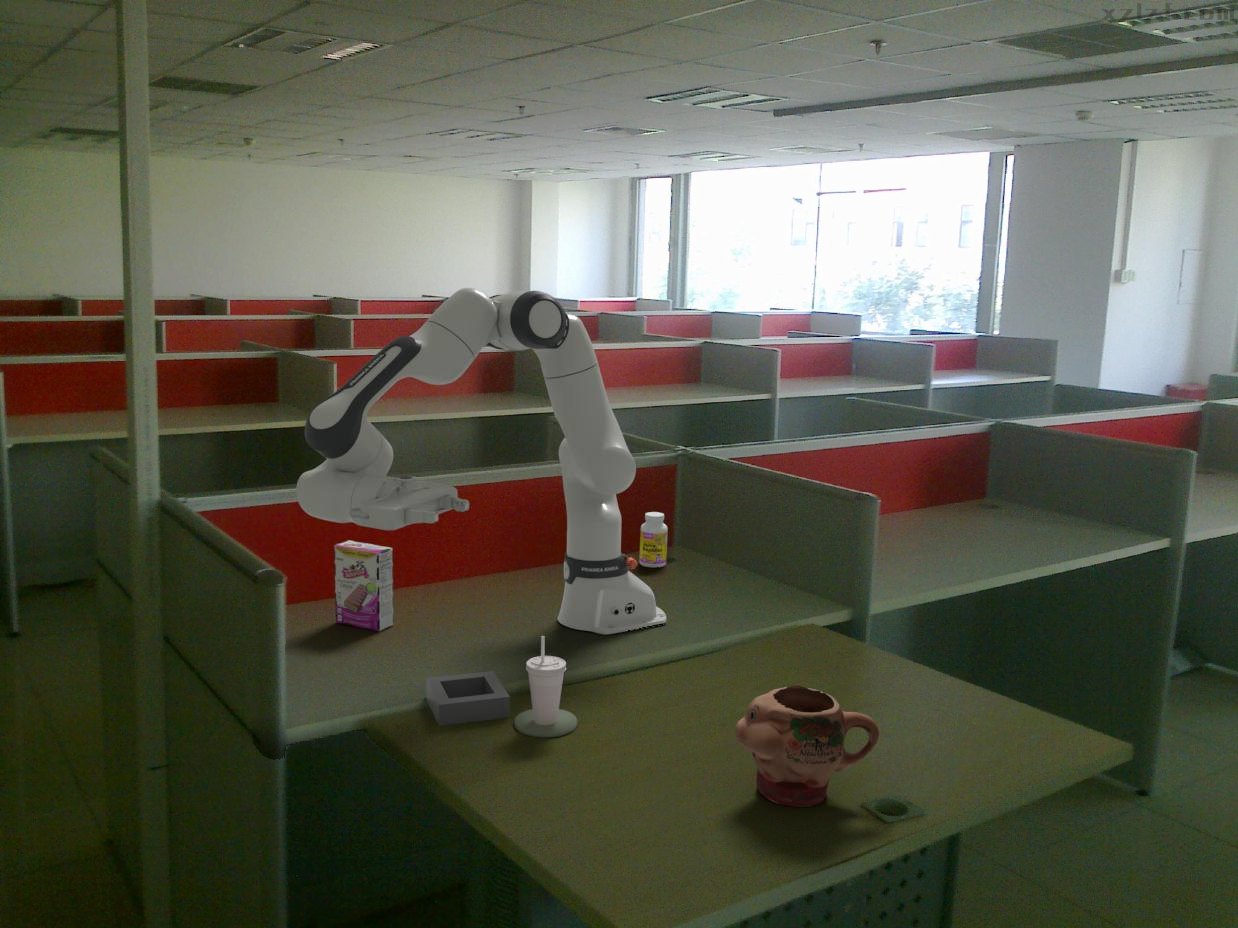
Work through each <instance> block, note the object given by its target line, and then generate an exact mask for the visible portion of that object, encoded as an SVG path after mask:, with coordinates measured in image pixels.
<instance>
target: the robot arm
mask: <svg viewBox="0 0 1238 928" xmlns="http://www.w3.org/2000/svg"><path fill="white" fill-rule="evenodd" d="M486 345H487V346H489V347H491V348H493V349H496V350H503V351H505V350H507V351H514V352H515V351H518V352H519V351H525V350H530V349H531V350H532V351H533V352H534V353H535V355H536V357H538V360H539V364H540V368H541V372H542V375H543V378H544V379H543V380H544V381H545V385H546V389H547V394H548V396H549V400H550V404H551V407H552V411H553V414H554V417H555V419H556V420H557V422H558V425H559V426H560V428H561V430H562V433H563V435H564V438H563V439H562V441H561V442H560V445H559V447H558V459H559V463H560V466H561V467H560V468H561V475H562V476H561V477H562V485H563V493H564V499H565V500H564V501H565V506H566V507H565V508H566V522H567V523H566V526H567V527H566V528H567V529H566V552H565V553H564V561H563V579H564V588H563V589H564V591H563V597H562V601H561V605H560V610H559V614H558V616H557V621H558V622H559V623H560V624H561V625H563V626H564V627H567V628H570V629H574V630H580V631H587V632H592V633H595V634H599V635H613V634H617V633H618V634H619V633H623V632H628V630H630V631H633V630H634V629H635V630H639V628H641V629H643V628H642V627H646V628H648V627H647V626H652V625H655V624H661V623H665V622H666V623H667V621H666V620H667V615H666V612H664V610H662V609H661V608H659V607H658V606H657V605H656V597H655V594H654V592H653V590H652V589H651V587H650V586H649V585H647V584H646V583H645V582H644V581H643V580H642V579H640V578H639V577H638V576H636V575H635V574H634V573H633V572H631V571H630V570H629V569H631V570H634V569H636V567H637V566H638V561H637V559H634V558H633V557H632V556H630V557H629V556H627V555H626V554H625V553H622V552H621V551H622V549H621V548H622V514H621V511H620V508H619V503H618V499H617V494H618V495H619V494H620V493H623V492H624V491H626V490H627V489H628V488H630V486H631V485H632V484H633V482H634V480H635V477H636V475H637V474H636V473H637V466H636V460H635V459H634V457H633V455H632V452H630V449H629V447H628V445H627V443H626V440H625V438H624V435H623V432H622V430H621V427H620V425H619V423H618V419H617V417H616V416H615V413H614V412H613V409H612V407H611V404H610V401H609V398H608V394H607V392H606V387H605V385H604V380H603V376H602V373H601V370H600V365H599V362H598V359H597V358H598V357H597V355H596V351H595V348H594V346H593V343H592V341H591V338H590V335H589V333H588V331H587V329H586V327H585V325H584V323H583V321H582V320H581V318H579V316H577V315H574V314H572V313H566V312H565V310H564V308H563V306H562V305H561V303H560V302H559V301H558V300H557V299H556V298H555V297H554V296H552V295H551V294H549V293H547V292H543V291H541V290H513V291H510V292H508V293H504V294H496V295H491V296H490V297H489V296H488V295H487V294H486V293H484V292H483V291H481V290H479V289H476V288H472V287H463V288H460V289H458V290H457V291H455V292H454V293H453V294H452V295H450V296H449V297H448V298H447V299H446V300H444V302H442V304H441V305H439V307H438V308H437V309H435V310H434V312H433V313H432V314H431V315H430V317H428V319H427V320H426V321H425V322H424V323H423V324H422V326H421V327H420V328H419V329H417V331H415V332H414V333H412V334H411V335H402V336H399V337H397V338H395V339H393V340H392V341H391V342H389V343H388V344H387V345H386V346H384V347H383V348H382V349H381V350H379V351H378V352H377V353H376V354H375V355H374V356H372V358H370V360H368V362H367V363H365V365H363V366H362V367H361V368H360V369H359V370H358V371H357V372H356V373H355V374H353V376H352V377H350V378H349V379H348V380H347V381H346V382H344V384H343V385H342V386H341V387H340V388H338V389H337V390H336V391H335V392H334V393H332V394H331V395H329V396H327V397H325V398H324V399H323V400H321V401H320V402H318V403H317V404H316V405H315V406H314V407H313V408H312V409H311V410H310V412H309V413H308V415H307V418H306V421H305V425H304V437H305V442H306V443H307V445H308V446H309V447H310V448H311V449H313V450H314V451H316V452H317V453H319V454H320V455H321V456H322V457H324V458H325V459H326V460H324V461H323V462H322V463H321V464H320V465H318V466H317V467H315V468H312V469H310V470H306V471H305V472H303V473H302V474H301V475H300V476H299V478H298V480H297V483H296V487H295V488H296V490H295V492H296V498H297V501H298V504H299V506H300V508H301V509H302V510H303V511H304V512H305V513H306V514H307V515H309V516H311V517H313V518H316V519H319V520H323V521H328V522H333V523H339V524H346V523H347V524H348V523H354V524H355V525H357V526H361V527H366V528H373V529H377V530H382V531H383V530H384V531H396V530H398V529H401V528H404V527H406V526H409V525H412V524H423V523H426V524H434V523H436V522H438V521H439V515H440V514H444V513H445V512H449V511H451V510H455V512H461V513H463V512H465V511H469V510H470V501H469V500H468V499H464V498H463V499H462V498H460V497H458V495H459V494H458V489H457V488H456V487H455V486H452V485H450V484H443V483H438V482H435V481H427V480H418V477H416V476H411V475H405V476H388V475H389V473H390V471H391V470H392V467H393V463H394V460H395V452H394V449H393V447H392V445H391V444H390V442H389V441H388V440H387V439H386V438H385V436H384V435H383V434H382V433H381V432H380V431H379V430H378V429H377V428H376V427H375V426H374V424H372V423H371V422H370V420H369V419H368V415H367V414H368V412H369V410H370V408H371V407H372V406H373V405H374V404H376V402H377V401H379V399H380V398H382V396H384V395H385V394H386V393H387V392H388V391H389V390H390V389H391V388H392V387H393V386H394V385H395V384H397V382H398V381H400V380H403V379H405V378H413V379H415V380H418V381H420V382H424V383H427V384H429V385H434V386H442V385H449V384H451V383H454V382H456V381H457V380H458V379H459V378H460V377H462V376H463V374H464V373H465V372H466V371H467V369H469V367H470V366H471V365H472V363H473V362H474V361H475V359H476V358H477V357H478V355H479V354H480V353H481V351H482V349H483V348H485V346H486ZM666 623H665V624H666ZM652 627H653V626H652Z"/></svg>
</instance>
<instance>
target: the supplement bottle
mask: <svg viewBox="0 0 1238 928" xmlns="http://www.w3.org/2000/svg"><path fill="white" fill-rule="evenodd" d="M644 520H645V522H644V523H642V524H641V526H640V535H639V537H640V538H639V540H640V541H639V559H638V560H639V564H640V565H641V566H642V567H646V568H654V569H655V568H656V569H657V567H658V568H662V567H665V566H666V564H667V552H668V551H667V550H668V525H666V524H665V523H664V520H665V514H664V513H663V512H658V511H651V512H650V511H649V512H645V514H644Z"/></svg>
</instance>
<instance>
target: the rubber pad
mask: <svg viewBox="0 0 1238 928" xmlns="http://www.w3.org/2000/svg"><path fill="white" fill-rule="evenodd" d="M513 722H514V724H513V725H514V728H515V729H516V730H517V731H518V732H519V733H521V734H523V735H525V736H528V737H529V736H530V737H533V738H542V739H543V738H556V737H562V736H565V735H568V734H570V733H571V732H573V731H575V730H576V728H577V727H578V718H577V716H576V715H574V713H571V712H570V711H568V710H566V709H561V708H559V710H558V717H557V722H556V723H554V724H551V725H540V724H537V723H535V722H534V716H533V708H532V709H526V710H525V711H522V712H520V713H519V714H517V715H516V717H515V718H514V721H513Z"/></svg>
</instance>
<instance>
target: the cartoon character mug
mask: <svg viewBox="0 0 1238 928" xmlns="http://www.w3.org/2000/svg"><path fill="white" fill-rule="evenodd" d="M853 728H860V729H861V728H862V729H864V730H865V732H866V733H867V735H868V741H867V743H866V744H865V745H864V746H863V747H862V748H860V750H859V751H857V752H854V753H852V752H848V751H847V750H846V748H845V739H846V735H847V733H848V732H849V731H850V730H851V729H853ZM734 736H735V739H736V741H737V742H738V743H739V744H740V745H741V746H743V747H744V748H745V749H746V750H748V751H749V752H750V753H751V754H752V757H753V759H754V761H755V763H756V766H757V767H756V780H755V781H756V782H755V783H756V787H757V790H758V791H759V793H760V794H761V795H762V796H763V797H765V798H766V799H767V800H770V801H771V802H773V803H775V804H779V805H783V806H784V805H785V806H790V807H797V808H798V807H812V806H815V805H818V804H821V803H822V802H823V801H824V799H825V798H826V796H827V793H828V786H829V781H830V775H831V774H832V772H833V771H835V772H837V773H840V772H842V771H844V770H846V769H848V768H851V767H852V766H854V765H856V764H857V763H859V762H860V761H861V760H864V758H865V757H867V755H868V754H869V753H870V752H871V751H872V750H873V749H874V747H875V746H876V745H877V744H878V741H879V737H880V730H879V727H878V726H877V723H876V721H874V719H873V718H872V717H870V716H869V715H867V714H865V713H860V712H856V711H844V710H843V709H842V708H841V705H840V703H839V702H838V701H837V699H836V698H834V697H833V696H832V695H830V694H828V693H826V692H824V691H821V690H819V689H814V688H810V687H804V686H803V685H791V686H790V685H789V686H785V687H780V688H774V689H772V690H770V691H768V692H767V693H764V694H760V695H759V696H756V697H754V698H753V699H752V701H751V702H750V703H749V705H748V706H747V708H746V712H745V715H744V716H743V717H742V718H741V719H739V720H738V721H737V723H736V724H735V727H734Z"/></svg>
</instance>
